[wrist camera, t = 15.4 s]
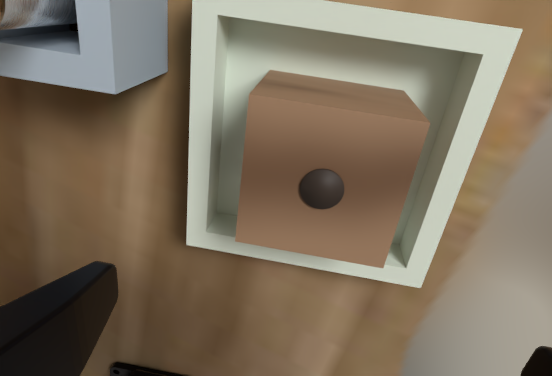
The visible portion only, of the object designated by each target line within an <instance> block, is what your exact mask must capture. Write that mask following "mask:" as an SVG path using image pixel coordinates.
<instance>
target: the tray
mask: <svg viewBox="0 0 552 376" xmlns="http://www.w3.org/2000/svg"><path fill="white" fill-rule="evenodd" d="M522 30H523V29H518V28H511V27H504V26H497V25H490V24H483V23H477V22H470V21H463V20H456V19H449V18H442V17H435V16H428V15H421V14H414V13H407V12H400V11H394V10H387V9H380V8H373V7H366V6H359V5H352V4H345V3H338V2H331V1H324V0H192V35H191V76H190V117H189V157H188V198H187V239H186V245H190V246H195V247H201V248H206V249H212V250H217V251H222V252H228V253H233V254H239V255H244V256H249V257H255V258H260V259H266V260H271V261H277V262H282V263H287V264H293V265H298V266H304V267H309V268H314V269H320V270H325V271H331V272H336V273H341V274H347V275H352V276H358V277H363V278H369V279H374V280H379V281H385V282H390V283H396V284H401V285H406V286H412V287H417V288H421V286H422V283H423V281H424V278H425V276H426V273H427V271H428V268H429V266H430V263H431V261H432V258H433V256H434V253H435V251H436V248H437V245H438V243H439V240H440V238H441V235H442V233H443V230H444V228H445V225H446V223H447V220H448V218H449V215H450V213H451V210H452V207H453V205H454V202H455V200H456V197H457V195H458V192H459V190H460V187H461V185H462V182H463V180H464V177H465V175H466V172H467V170H468V167H469V164H470V162H471V159H472V157H473V154H474V152H475V149H476V147H477V144H478V142H479V139H480V137H481V134H482V132H483V129H484V126H485V124H486V121H487V119H488V116H489V114H490V111H491V109H492V106H493V104H494V101H495V99H496V96H497V94H498V91H499V88H500V86H501V83H502V81H503V78H504V76H505V73H506V71H507V68H508V66H509V63H510V61H511V58H512V56H513V53H514V50H515V48H516V45H517V43H518V40H519V38H520V35H521V33H522ZM269 70H275V71H282V72H288V73H295V74H301V75H308V76H314V77H320V78H327V79H333V80H340V81H346V82H353V83H359V84H365V85H372V86H378V87H385V88H391V89H397V90H404V91H405V92H406V94H407V95H408V96H409V97H410V99H411V100H412V101H413V102H414V103H415V105H416V106H417V107H418V108H419V109H420V111H421V112H422V113H423V114H424V116H425V117H426V118H427V119H428V120H429V122H430V127H429V130H428V133H427V136H426V139H425V142H424V145H423V148H422V151H421V154H420V157H419V160H418V163H417V166H416V170H415V173H414V176H413V179H412V182H411V185H410V188H409V191H408V194H407V197H406V200H405V203H404V206H403V209H402V213H401V216H400V219H399V222H398V225H397V228H396V231H395V234H394V237H393V240H392V243H391V246H390V249H389V252H388V256H387V259H386V262H385V265H384V268H378V267H372V266H367V265H361V264H356V263H350V262H345V261H339V260H334V259H328V258H323V257H317V256H312V255H306V254H301V253H295V252H290V251H285V250H279V249H274V248H268V247H263V246H257V245H252V244H246V243H241V242H235V236H236V226H237V215H238V205H239V194H240V184H241V173H242V163H243V152H244V142H245V131H246V121H247V111H248V100H249V93H250V92H251V91H252V90H253V89H254V88H255V87H256V85H257V84H258V83H259V82H260V81H261V80H262V79H263V77H264V76H265V75H266V74H267V73H268V72H269Z"/></svg>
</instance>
